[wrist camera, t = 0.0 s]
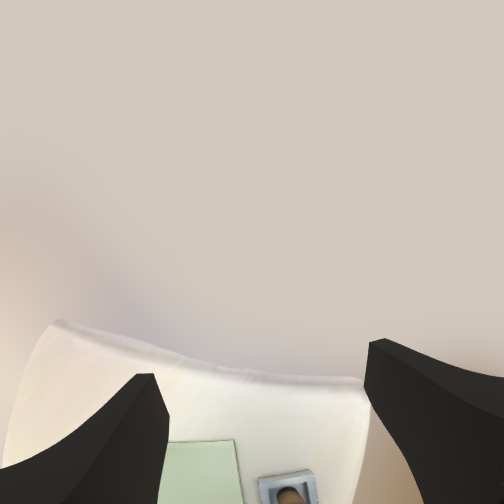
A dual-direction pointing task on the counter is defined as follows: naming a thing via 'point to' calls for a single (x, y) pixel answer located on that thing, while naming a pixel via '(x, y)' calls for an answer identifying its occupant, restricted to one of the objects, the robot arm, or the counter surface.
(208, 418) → the counter surface
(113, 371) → the counter surface
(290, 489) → the dowel
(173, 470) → the tray
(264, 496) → the blue-grey square socket
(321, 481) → the counter surface
